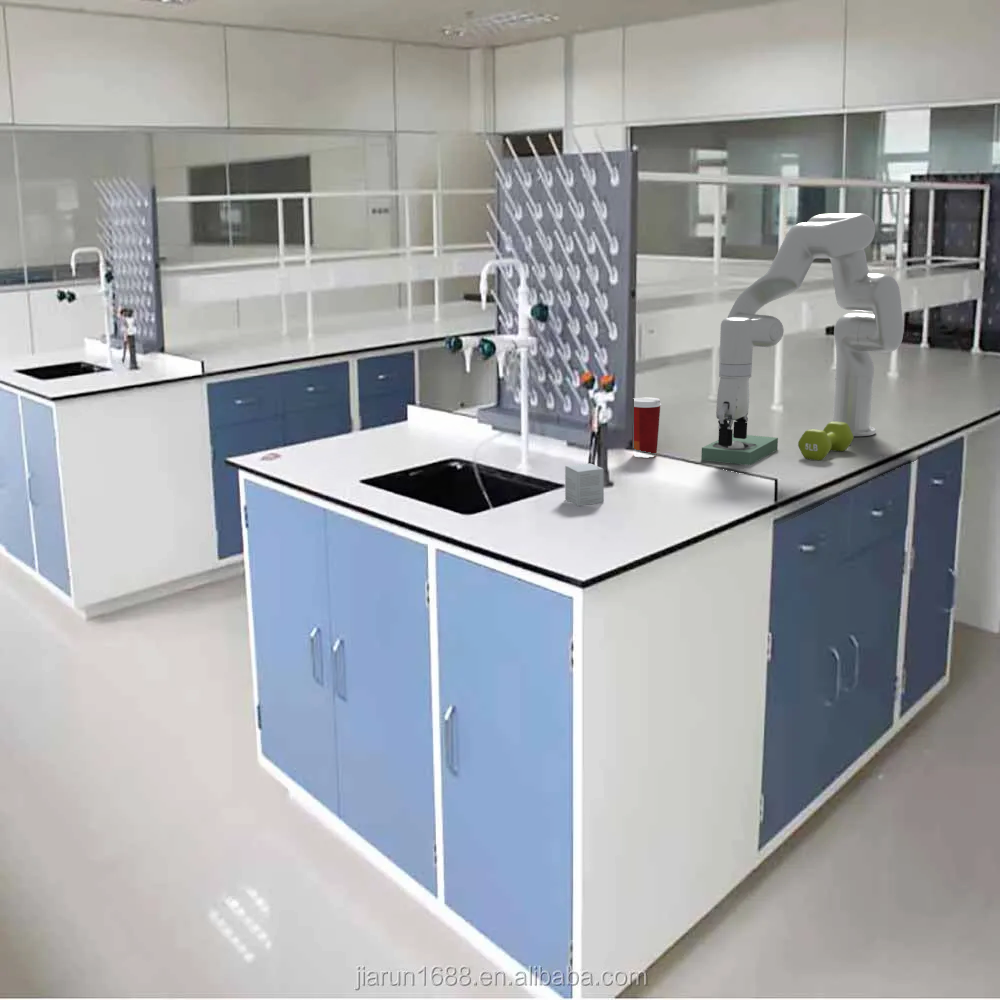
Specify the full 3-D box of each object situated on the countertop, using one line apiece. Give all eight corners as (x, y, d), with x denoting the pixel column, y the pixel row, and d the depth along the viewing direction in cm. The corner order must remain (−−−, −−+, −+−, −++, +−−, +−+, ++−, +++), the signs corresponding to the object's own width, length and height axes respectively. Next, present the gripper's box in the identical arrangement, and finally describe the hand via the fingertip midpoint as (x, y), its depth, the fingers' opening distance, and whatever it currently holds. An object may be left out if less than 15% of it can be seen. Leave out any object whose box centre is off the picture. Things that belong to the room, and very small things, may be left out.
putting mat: (731, 445, 271) (731, 433, 271) (777, 449, 265) (778, 437, 264) (701, 460, 255) (701, 447, 254) (749, 465, 249) (750, 452, 248)
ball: (725, 459, 258) (731, 452, 260) (741, 460, 255) (747, 453, 258) (724, 444, 256) (730, 437, 259) (740, 445, 254) (746, 438, 257)
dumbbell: (824, 447, 267) (826, 419, 265) (855, 451, 262) (857, 422, 260) (794, 458, 255) (796, 429, 254) (825, 463, 250) (827, 433, 248)
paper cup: (665, 454, 262) (667, 398, 258) (652, 460, 256) (653, 402, 252) (637, 451, 266) (638, 396, 262) (623, 457, 260) (623, 400, 256)
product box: (590, 496, 223) (591, 462, 221) (604, 503, 218) (604, 468, 216) (564, 499, 221) (564, 465, 219) (577, 506, 216) (577, 471, 214)
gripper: (733, 365, 259) (730, 434, 263) (706, 374, 245) (704, 446, 249) (763, 367, 255) (760, 437, 260) (737, 376, 241) (734, 450, 245)
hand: (732, 441), depth 254 cm, fingers open, 9 cm apart
